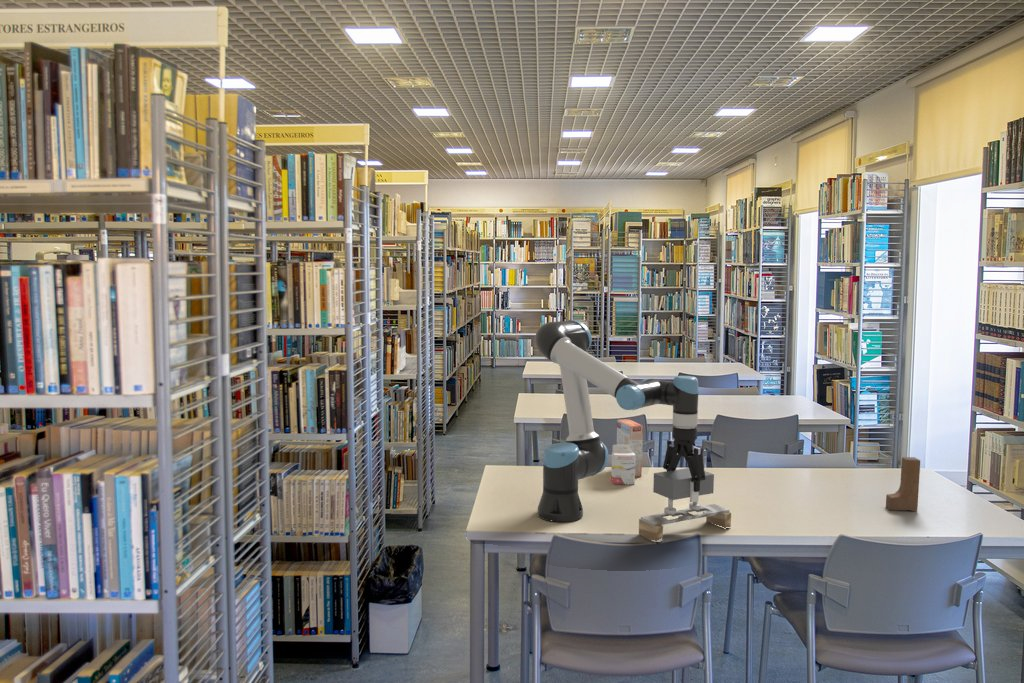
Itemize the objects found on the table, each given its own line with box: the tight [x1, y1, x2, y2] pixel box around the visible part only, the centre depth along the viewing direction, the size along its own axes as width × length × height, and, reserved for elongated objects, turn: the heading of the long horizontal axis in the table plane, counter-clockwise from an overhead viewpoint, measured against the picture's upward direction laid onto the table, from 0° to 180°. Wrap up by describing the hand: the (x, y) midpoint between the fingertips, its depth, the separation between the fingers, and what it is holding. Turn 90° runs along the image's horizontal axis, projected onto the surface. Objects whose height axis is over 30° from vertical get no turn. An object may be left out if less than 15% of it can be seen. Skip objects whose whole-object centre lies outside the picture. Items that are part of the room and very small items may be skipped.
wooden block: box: [885, 456, 921, 512], centre depth 260 cm, size 9×4×18 cm, turn 86°
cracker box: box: [616, 418, 644, 478], centre depth 303 cm, size 14×6×21 cm, turn 13°
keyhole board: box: [638, 503, 732, 541], centre depth 235 cm, size 30×8×6 cm, turn 118°
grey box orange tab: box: [652, 467, 715, 515], centre depth 234 cm, size 16×9×12 cm, turn 118°
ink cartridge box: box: [610, 444, 636, 486], centre depth 289 cm, size 9×5×15 cm, turn 92°
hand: (683, 497), depth 234 cm, fingers closed on grey box orange tab, 9 cm apart
